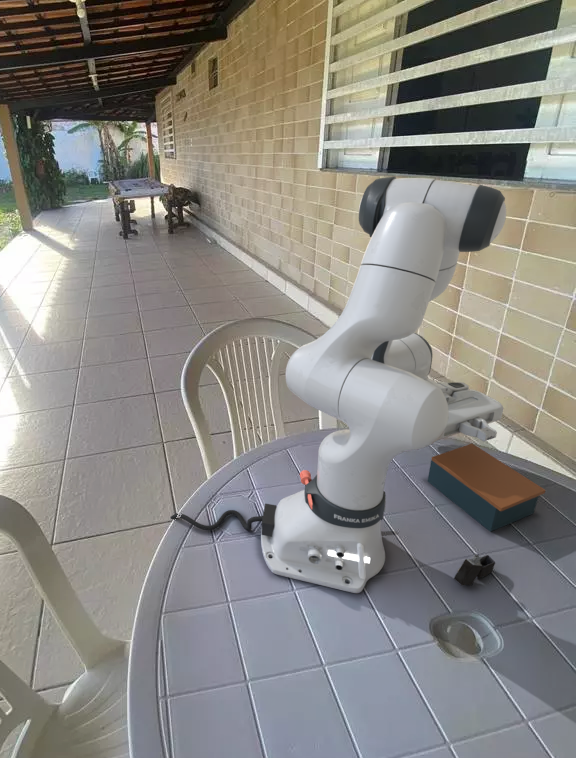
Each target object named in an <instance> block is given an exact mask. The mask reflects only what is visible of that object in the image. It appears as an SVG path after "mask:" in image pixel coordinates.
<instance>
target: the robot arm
mask: <svg viewBox="0 0 576 758" xmlns="http://www.w3.org/2000/svg"><path fill="white" fill-rule="evenodd" d="M505 201H506V198H505V196H504V194H503V193H502V191H501V190H499V189H497V188H494V187H492V186H491V187H490V186H487V185H483V184H479V185H478V186H477V185H472V184H467V183H461V182H456V181H451V180H450V181H448V180H442V179H441V180H440V179H436V178H432V177H431V178H430V177H401V178H397V177H396V176H385V177H380V178H379V177H378V178H376V179H375V180H373V181H372V182H371V183H369V185H368V186H367V187H366V189H365V190H364V192H363V195H362V197H361V199H360V201H359V206H358V224H359V226H360V227H361V229H362V230H363V232H364V233H366V234H367V235H369V238H370V239H369V241H368V243H367V246H366V248H365V251H364V252H363V253H364V254H363V256H362V259H361V262H360V265H359V268H358V271H357V274H356V278H355V280H354V282H353V286H352V289H351V290H350V294H349V296H348V298H347V301H346V304H345V306H344V308H343V310H342V312H341V313H340V315H339V317H338V318H337V320H336V321H335V322H334V323H333V325H331V327H330V328H328V330H327V331H325V332H324V334H322V335H321V336H319V337H318V338H316V339H315V340H313V341H311V342H308V343H305V344H303V345H301V346H300V347H299V348H297V349H296V350H295V351H294V352H292V354H291V356H290V358H289V359H288V361H287V363H286V368H285V383H286V386H287V389H288V390H289V391H290V392H291V393H292V394H294V395H295V396H296V397H297V398H299V399H300V400H301V401H303V402H304V403H305V404H307V405H308V406H310V407H311V408H313V409H315V410H318V411H320V412H322V413H323V414H326V415H328V416H330V417H333V418H335V419H337V420H339V421H341V422H342V423H344V424H346V426H347V427H348V428H343V429H339V430H335V431H333V432H330V433H329V434H328V435H326V436H325V437H324V438H323V440H322V441H321V443H320V444H319V447H318V452H317V468H316V470H317V471H316V475H315V476H314V477H313V478H312V473H311V472H310V471H309V470H308V469H307V470H306V469H303V470H301V471H300V473H299V477H300V483H301V484H302V485H304V489H302V490H299V491H297V492H295V493H293V494H290V495H287V496H285V497H283V498H281V499H280V501H278V503H277V504H271V503H265V504H264V508H263V514H262V515H260V516H256V515H255V516H251V517H250V518H248V520H247V521H245V519H244V517H243V515H242V514H241V513H240V512H239V511H237V510H235V509H229V510H226V511H224V512H223V513H222V514H221V516H220V517H219V518H218V520H217V521H216V522H215V523H213V524H210V525H205V524H202V523H199V522H198V521H196V520H194V519H193V518H192V517H189V516H188V515H186V514H184V513H181V514H182V515H181V517H180V518H179V519H182V520H184V521H185V522H187V523H189V524H190V525H192V526H194V527H195V528H197V529H199V530H202V531H214V530H216V529H218V528H219V527H220V526H222V524H223V523H224V521H225V519H226V518H228V516H233V515H234V516H235V517H237V520H238V522H239V523H240V525H241V526H242V527H243V529H244V530H245V531H251V529H252V527H253V525H252V524H253V523H256V522H261V530H260V548H261V552H262V556H263V560H264V562H265V564H266V566H267V567H268V569H269V571H270V572H271V573H272V574H274V575H277V576H281V577H285V578H288V579H289V578H290V579H293V580H297V581H303V582H306V583H310V584H314V585H319V586H323V587H327V588H331V589H336V590H340V591H344V592H347V593H352V594H360V593H362V591H363V590H364V588H365V586H366V584H367V582H368V581H369V580H370V579H371V578H374V577H375V576H377V575H378V573H379V572H380V571H381V570H382V569H383V567H384V565H385V562H386V551H385V547H384V543H383V535H382V520H383V519H384V514H385V512H386V504H387V503H386V502H387V501H386V499H387V497H386V496H387V495H386V494H387V493H386V491H385V485H386V479H387V475H388V471H389V467H390V465H391V463H392V461H393V460H394V459H395V458H396V457H397V456H399V455H400V454H403V453H405V452H410V451H419V450H422V449H425V448H427V447H429V446H431V445H433V444H434V443H436V442H437V441H439V440H442V439H446V438H449V437H452V436H455V435H457V434H463V435H465V436H469V437H472V438H477V439H479V440H480V441H482V442H487V441H489V440H493V439H496V438H497V435H498V432H497V430H496V429H494V428H492V427H490V425H489V424H492V423H494V422H495V423H496V422H498V421H500V420H502V417H503V412H504V406H503V404H502V403H501V402H500V401H498V400H496V399H495V398H493V397H491V396H489V395H487V394H486V393H483V392H481V391H479V390H477V389H472V388H470V386H469V384H467V383H465V382H461V381H458V382H447V381H446V382H445V381H435V380H433V379H432V378H430V377H429V375H430V372H431V368H432V364H433V355H434V354H433V349H432V346H431V344H430V343H429V342H428V341H427V339H425V337H423V336H422V335H420V334H419V333H417V331H418V330H419V328H420V327H421V326H422V324H423V321H424V318H425V316H426V312H427V309H428V306H429V303H430V302H431V301H433V300H435V299H436V298H438V297H439V296H441V295H442V294H443V293H445V291H446V289H447V288H448V286H449V284H450V283H451V281H452V279H453V277H454V274H455V273H456V268H457V265H458V260H459V256H460V253H473V252H480V251H482V250H485V249H486V248H488V247H490V246H491V243H493V241H495V240H496V238H497V237H498V236H499V235H500V233H501V232H502V230H503V228H504V225H505V222H506V218H507V206H506V203H505ZM469 388H470V389H469ZM178 513H179V512H177V513H174V514H172V515H171V516H170V519H171V520H175V519H177V518H176V517H177V515H178ZM179 516H180V515H179Z"/></svg>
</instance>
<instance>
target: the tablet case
mask: <svg viewBox="0 0 576 758" xmlns="http://www.w3.org/2000/svg"><path fill="white" fill-rule="evenodd" d="M427 482H428V483H429V484H430V486H431V485H432V486H433V487H434V488H435V489H436V490H438V491H439V493H441V494H443V495H444V496H445V497H447V499H448V500H450V501H451V502H453V504H455V505H456V506H457V507H459V508H460V509H461V510H463V511H464V512H465V513H466V514H467V515H469V516H470V517H471V518H472V519H474V520H475V521H476V522H477V523H479V524H480V525H481V526H483V528H485V529H486V530H488V532H494V531H496V530H498V529H501V528H503V527H505V526H507V525H511V524H512V523H514V522H517V521H519V520H521V519H524V518H527V517H529V516H530V515H533V514H534V513H535V510H536V507H537V503H538V500H539V496H540V495H539V496H537V497H535V498H532V499H530V500H527V501H525V502H523V503H520V504H518V505H515V506H513V507H510V508H508V509H506V510H503V511H499V510H498V509H497V508H495V507H494V506H493V505H491V504H490V503H489V502H487V501H486V500H485V499H483V498H482V497H481V496H479V495H478V494H477V493H475V492H474V491H473V490H471V489H470V488H468V487H467V486H466V485H464V484H463V483H462V482H460V481H459V480H458V479H456V478H455V477H454V476H452V475H451V474H450V473H448V472H447V471H446V470H444V469H443V468H442V467H440V466H439V465H438V464H436V463H435V462H434V461H432V460H431V459H430V466H429V469H428V476H427Z"/></svg>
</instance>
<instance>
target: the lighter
mask: <svg viewBox="0 0 576 758" xmlns="http://www.w3.org/2000/svg"><path fill="white" fill-rule="evenodd" d="M495 564H496V561H495V560H494V559H493V558H492V557H491V555H489V554H486V555H484V556H480V555H479V554H477V553H475V554H474V555H473V556H472V557H471V558H466V559H464V560H463V562H462V564H461V566H460V567H459V568H458V569H457V572H456V574H455V576H454V577H453V579H454V580H455V581H456V582H457V583H458V584H459V585H461V586H472V585H473V583H474V582H475V580H476V579H477V578H478V579H482V578H484V577H487V576H489V575H490V574H491V573H492V572H493V571H494V567H495Z"/></svg>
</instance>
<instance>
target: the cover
mask: <svg viewBox="0 0 576 758" xmlns="http://www.w3.org/2000/svg"><path fill="white" fill-rule="evenodd" d="M431 460H432V461H434V462H435V463H436V464H438V465H439V466H440V467H442V468H443V469H444V470H446V471H447V472H448V473H450V474H451V475H452V476H454V477H455V478H456V479H458V480H459V481H460V482H462V483H463V484H464V485H466V486H467V487H468V488H470V489H471V490H473V491H474V492H475V493H477V494H478V495H479V496H481V497H482V498H483V499H485V500H486V501H487V502H489V503H490V504H491V505H493V506H494V507H495V508H497V509H498V510H499V511H503V510H506V509H508V508H510V507H513V506H515V505H518V504H520V503H523V502H525V501H527V500H530V499H532V498H535V497H537V496H541V495H544V494H546V489H545V488H543V487H542V486H540V485H538V484H537V483H535V482H533V481H532V480H530V478H527V477H526V476H524V475H523V474H522V473H519V472H518V471H517V470H515V469H513V468H511V467H510V466H508V465H507V464H506V463H504V462H503V461H501V460H499V459H497V458H496V457H494V456H493V455H492V454H490V453H488V452H487V451H485V450H483V449H482V448H480V447H479V446H477V445H475V444H474V443H473V442H471V443H469V444H466V445H462V446H460V447H456V448H454V449H451V450H448V451H446V452H445V451H444V452H442V453H440V454H436V455H433V456H431V458H430V461H431Z"/></svg>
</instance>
